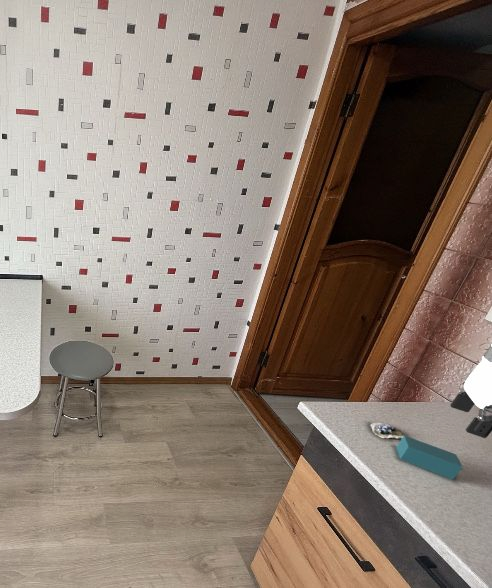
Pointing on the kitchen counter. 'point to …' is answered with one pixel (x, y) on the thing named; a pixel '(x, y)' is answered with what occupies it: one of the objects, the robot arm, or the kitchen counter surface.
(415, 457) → the teal rectangular block
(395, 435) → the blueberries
